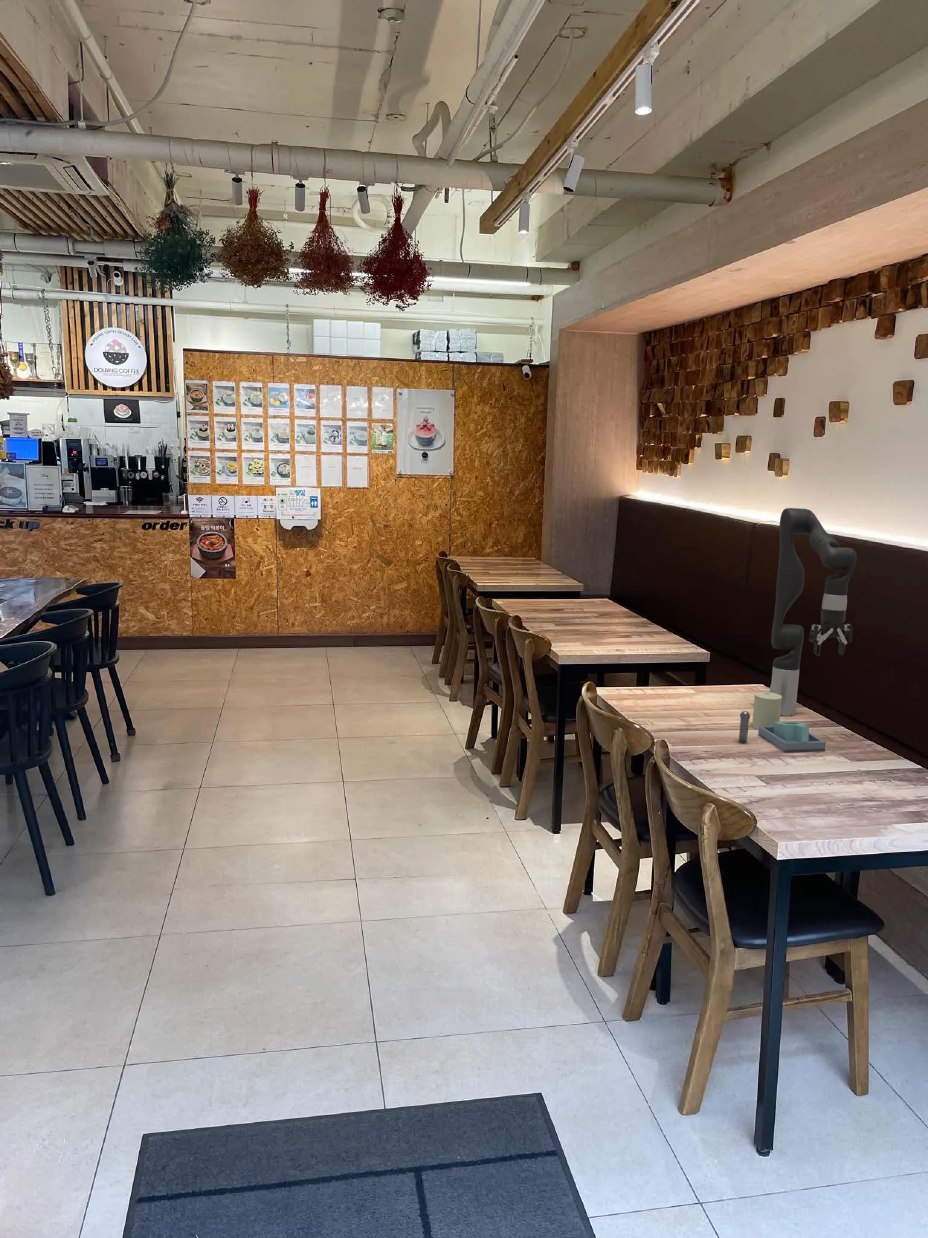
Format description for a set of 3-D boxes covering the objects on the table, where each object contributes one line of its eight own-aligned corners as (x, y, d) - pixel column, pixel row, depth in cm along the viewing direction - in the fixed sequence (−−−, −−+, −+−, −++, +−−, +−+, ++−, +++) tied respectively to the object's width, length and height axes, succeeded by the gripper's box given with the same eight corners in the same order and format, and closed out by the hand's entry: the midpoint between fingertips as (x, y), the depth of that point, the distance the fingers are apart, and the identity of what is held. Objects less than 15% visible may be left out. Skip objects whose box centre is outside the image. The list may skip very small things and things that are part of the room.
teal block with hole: (773, 737, 292) (773, 722, 292) (795, 736, 293) (795, 721, 293) (793, 742, 280) (793, 726, 280) (816, 741, 281) (816, 726, 281)
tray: (758, 735, 296) (758, 726, 296) (796, 734, 299) (797, 725, 298) (784, 752, 279) (785, 743, 279) (824, 751, 282) (825, 742, 281)
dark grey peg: (736, 740, 290) (738, 710, 288) (744, 740, 290) (747, 709, 288) (740, 744, 287) (743, 712, 285) (749, 743, 287) (752, 712, 285)
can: (775, 723, 310) (778, 691, 307) (782, 732, 301) (785, 698, 298) (749, 722, 310) (751, 689, 308) (754, 730, 301) (757, 697, 299)
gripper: (847, 605, 295) (842, 652, 298) (808, 605, 292) (803, 652, 295) (860, 609, 287) (855, 657, 290) (820, 609, 285) (815, 657, 288)
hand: (829, 654), depth 293 cm, fingers open, 8 cm apart
